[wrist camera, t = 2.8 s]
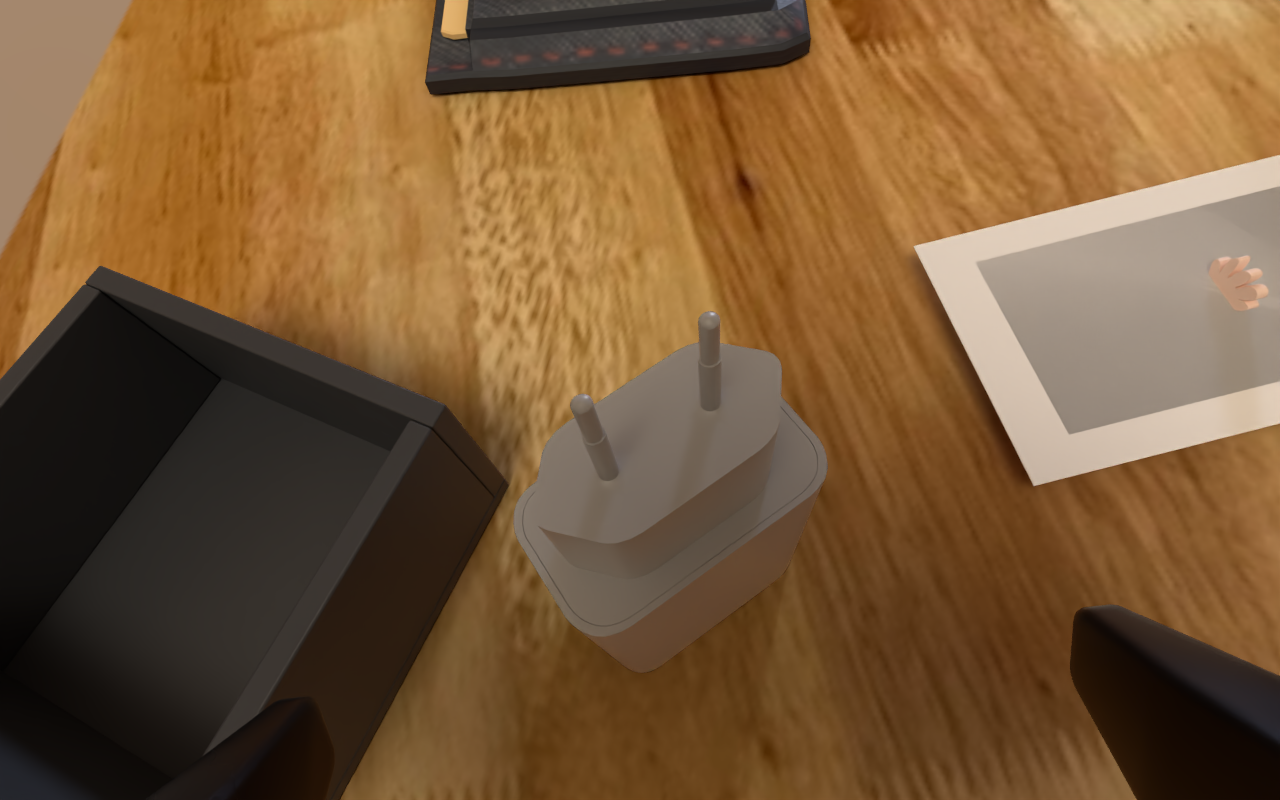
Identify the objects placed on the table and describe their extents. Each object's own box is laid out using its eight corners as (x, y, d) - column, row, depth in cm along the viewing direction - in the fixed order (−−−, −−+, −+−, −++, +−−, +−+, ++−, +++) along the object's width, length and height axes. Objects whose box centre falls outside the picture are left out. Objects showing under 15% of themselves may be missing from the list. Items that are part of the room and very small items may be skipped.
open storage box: (295, 882, 17) (122, 941, 12) (-11, 684, 20) (-255, 666, 15) (509, 483, 21) (446, 404, 16) (228, 364, 23) (99, 264, 19)
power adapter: (570, 583, 19) (386, 388, 9) (730, 471, 20) (747, 167, 9) (634, 685, 18) (514, 607, 7) (802, 560, 19) (916, 326, 8)
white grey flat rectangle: (904, 267, 23) (923, 223, 21) (1358, 154, 23) (1419, 99, 21) (1017, 499, 19) (1052, 471, 17) (1548, 363, 19) (1642, 321, 17)
